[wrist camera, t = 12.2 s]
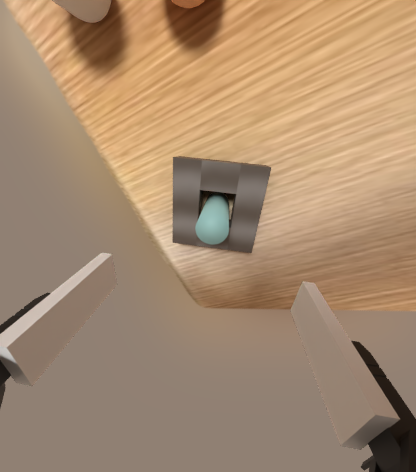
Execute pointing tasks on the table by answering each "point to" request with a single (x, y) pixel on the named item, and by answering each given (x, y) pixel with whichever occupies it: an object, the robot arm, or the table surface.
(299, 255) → the table surface
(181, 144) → the table surface
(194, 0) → the egg
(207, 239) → the peg
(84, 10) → the cup
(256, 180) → the socket
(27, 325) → the robot arm
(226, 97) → the table surface
